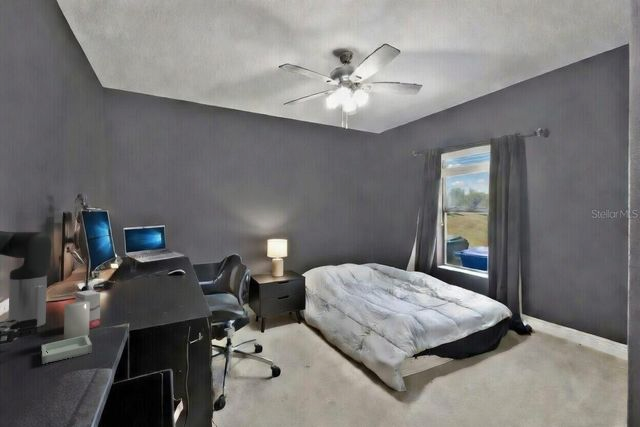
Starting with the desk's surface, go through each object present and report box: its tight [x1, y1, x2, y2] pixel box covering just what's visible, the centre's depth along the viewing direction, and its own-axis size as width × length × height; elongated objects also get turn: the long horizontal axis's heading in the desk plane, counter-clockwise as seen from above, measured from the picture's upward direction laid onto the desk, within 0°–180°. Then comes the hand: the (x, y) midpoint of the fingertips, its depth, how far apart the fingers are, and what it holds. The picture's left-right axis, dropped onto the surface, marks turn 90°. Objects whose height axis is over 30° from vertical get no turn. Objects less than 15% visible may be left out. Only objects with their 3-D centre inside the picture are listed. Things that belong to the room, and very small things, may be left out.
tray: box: [41, 335, 93, 365], centre depth 80 cm, size 10×10×2 cm
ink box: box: [75, 289, 101, 329], centre depth 101 cm, size 9×5×12 cm, turn 58°
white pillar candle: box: [63, 301, 90, 340], centre depth 89 cm, size 6×6×11 cm
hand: (37, 325), depth 83 cm, fingers open, 8 cm apart
